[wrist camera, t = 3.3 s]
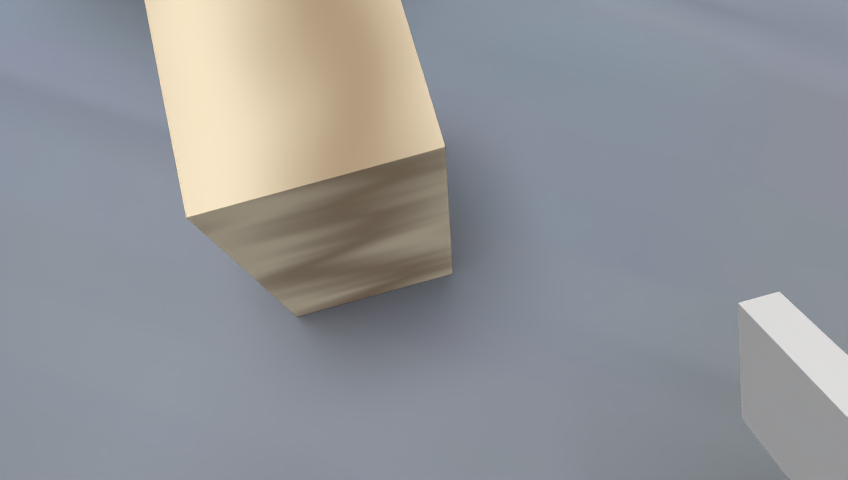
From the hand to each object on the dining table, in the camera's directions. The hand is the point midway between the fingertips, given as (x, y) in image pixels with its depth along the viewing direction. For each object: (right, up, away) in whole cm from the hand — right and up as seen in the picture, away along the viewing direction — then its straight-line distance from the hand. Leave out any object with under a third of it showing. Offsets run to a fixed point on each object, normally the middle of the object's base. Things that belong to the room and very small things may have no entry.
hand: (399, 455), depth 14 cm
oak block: (-2, +5, +16) cm, 16 cm away
